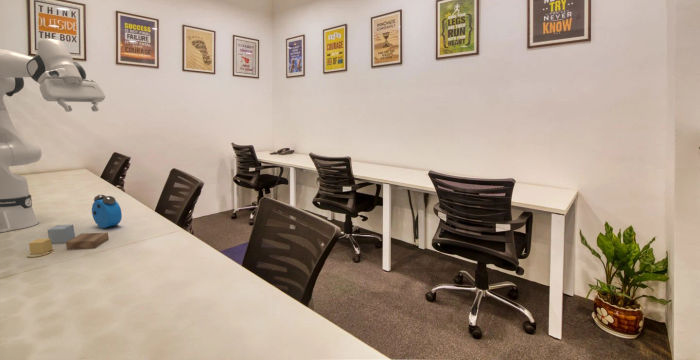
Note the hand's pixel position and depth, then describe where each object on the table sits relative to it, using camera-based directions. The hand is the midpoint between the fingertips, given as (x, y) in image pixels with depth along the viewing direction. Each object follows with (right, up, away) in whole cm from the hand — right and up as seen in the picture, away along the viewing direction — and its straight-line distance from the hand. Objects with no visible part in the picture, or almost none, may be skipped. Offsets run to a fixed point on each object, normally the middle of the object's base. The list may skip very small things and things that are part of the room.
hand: (83, 110), depth 133 cm
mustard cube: (-15, -54, -1) cm, 56 cm away
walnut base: (-3, -52, +6) cm, 53 cm away
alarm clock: (-10, -49, +28) cm, 57 cm away
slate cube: (-16, -52, +10) cm, 55 cm away
